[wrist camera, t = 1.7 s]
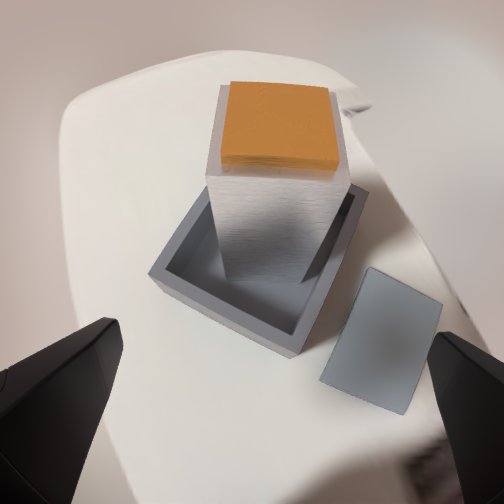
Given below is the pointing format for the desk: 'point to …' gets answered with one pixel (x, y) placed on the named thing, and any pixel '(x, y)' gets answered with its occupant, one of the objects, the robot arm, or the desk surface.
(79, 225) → the desk surface
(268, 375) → the desk surface
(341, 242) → the case
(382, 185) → the desk surface
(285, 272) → the block
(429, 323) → the mat
